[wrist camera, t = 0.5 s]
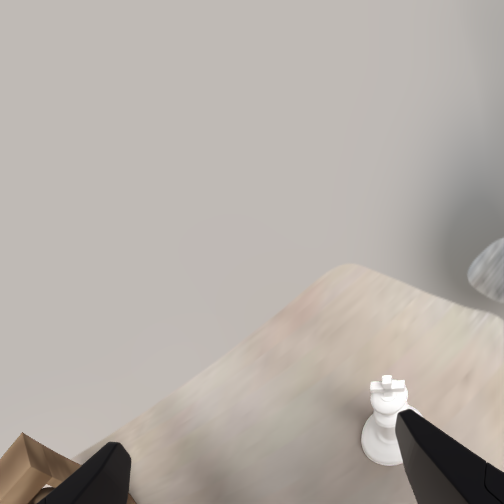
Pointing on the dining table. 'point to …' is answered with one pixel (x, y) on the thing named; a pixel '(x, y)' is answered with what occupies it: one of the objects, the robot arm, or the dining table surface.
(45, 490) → the peg
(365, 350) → the dining table surface
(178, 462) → the dining table surface
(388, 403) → the chess piece
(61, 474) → the block
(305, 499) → the dining table surface
